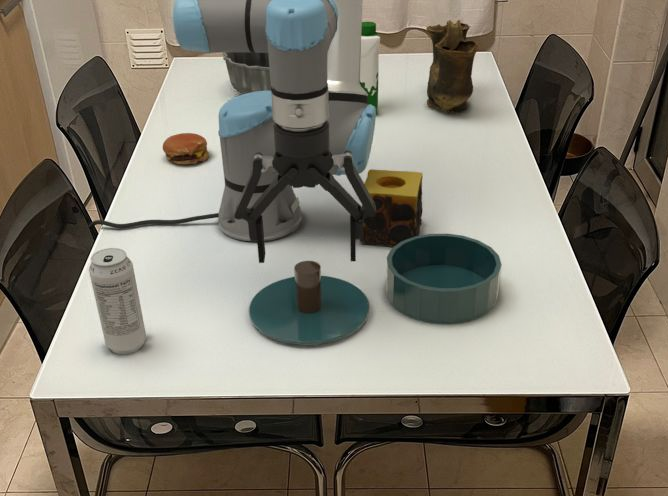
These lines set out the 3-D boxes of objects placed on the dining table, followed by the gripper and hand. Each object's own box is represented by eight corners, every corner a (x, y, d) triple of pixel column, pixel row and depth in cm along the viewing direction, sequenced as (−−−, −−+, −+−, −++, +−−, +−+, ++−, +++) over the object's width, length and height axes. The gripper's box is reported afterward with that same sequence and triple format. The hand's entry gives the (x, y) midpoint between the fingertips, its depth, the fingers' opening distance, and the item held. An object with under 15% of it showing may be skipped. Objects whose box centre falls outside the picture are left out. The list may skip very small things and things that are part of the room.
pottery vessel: (478, 126, 189) (486, 36, 178) (430, 127, 190) (435, 37, 178) (464, 88, 210) (470, 5, 198) (421, 89, 210) (424, 6, 198)
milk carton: (382, 116, 196) (383, 28, 184) (346, 121, 194) (344, 32, 182) (370, 103, 202) (370, 18, 191) (334, 108, 200) (332, 22, 189)
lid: (244, 348, 123) (239, 302, 118) (254, 282, 137) (250, 238, 133) (370, 347, 122) (371, 300, 117) (367, 280, 137) (367, 236, 132)
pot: (389, 325, 127) (389, 291, 123) (384, 265, 141) (384, 234, 137) (505, 323, 126) (509, 290, 123) (488, 264, 140) (492, 232, 137)
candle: (416, 249, 145) (418, 197, 139) (359, 245, 147) (358, 193, 141) (422, 222, 153) (425, 171, 147) (368, 218, 155) (368, 168, 149)
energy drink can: (149, 331, 127) (133, 244, 118) (144, 355, 122) (127, 266, 113) (109, 333, 126) (90, 246, 118) (102, 357, 122) (82, 268, 113)
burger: (173, 147, 183) (170, 127, 180) (214, 149, 182) (211, 129, 179) (158, 166, 175) (155, 145, 173) (201, 168, 174) (199, 147, 171)
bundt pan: (287, 67, 226) (285, 29, 220) (351, 91, 210) (351, 50, 204) (206, 90, 213) (201, 50, 207) (267, 117, 196) (264, 75, 191)
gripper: (204, 134, 109) (221, 272, 122) (395, 130, 108) (392, 269, 121) (211, 112, 115) (227, 245, 128) (392, 108, 114) (389, 243, 127)
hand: (307, 257), depth 125 cm, fingers open, 13 cm apart
